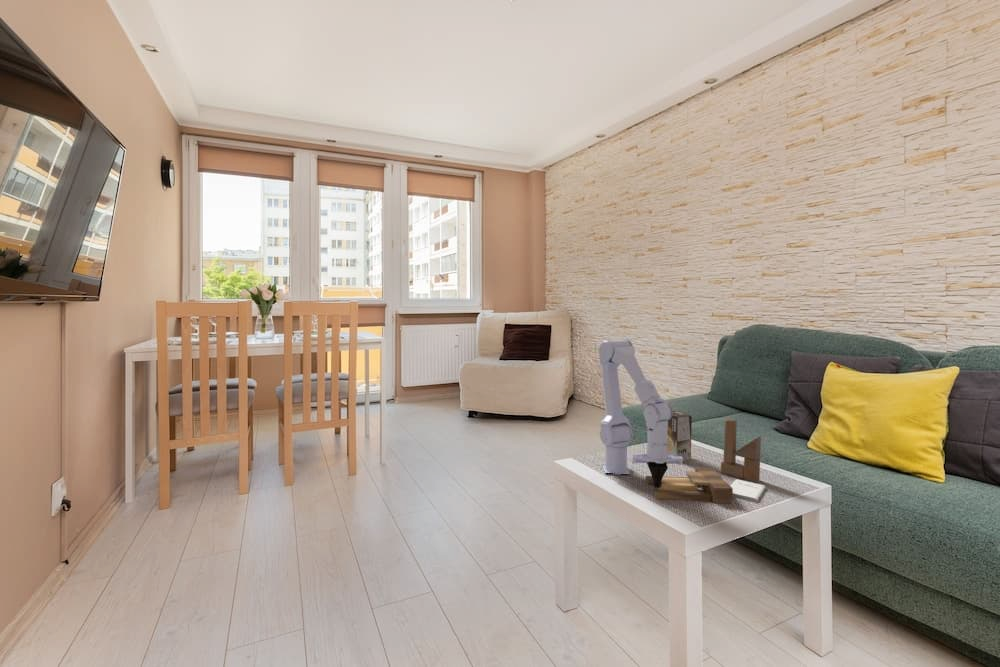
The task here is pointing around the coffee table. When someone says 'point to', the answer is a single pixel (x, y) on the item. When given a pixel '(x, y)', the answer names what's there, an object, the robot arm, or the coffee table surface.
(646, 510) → the coffee table surface
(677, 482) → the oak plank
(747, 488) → the external hard drive
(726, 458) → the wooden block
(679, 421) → the coffee box
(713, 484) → the walnut dock
